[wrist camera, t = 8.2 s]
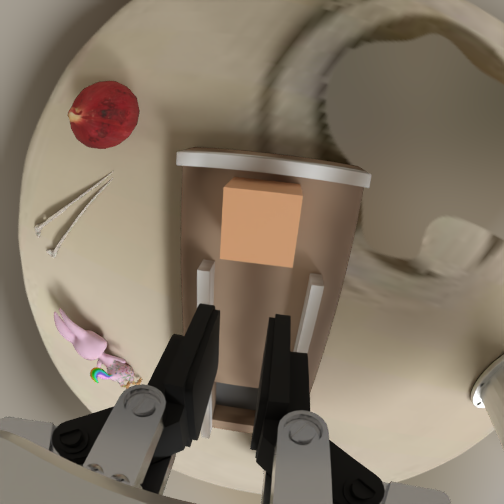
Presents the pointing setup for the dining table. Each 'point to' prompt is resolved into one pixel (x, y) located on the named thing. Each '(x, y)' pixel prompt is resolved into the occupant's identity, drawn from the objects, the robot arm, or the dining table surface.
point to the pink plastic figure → (95, 351)
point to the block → (260, 221)
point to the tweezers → (40, 226)
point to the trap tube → (264, 268)
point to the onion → (104, 114)
